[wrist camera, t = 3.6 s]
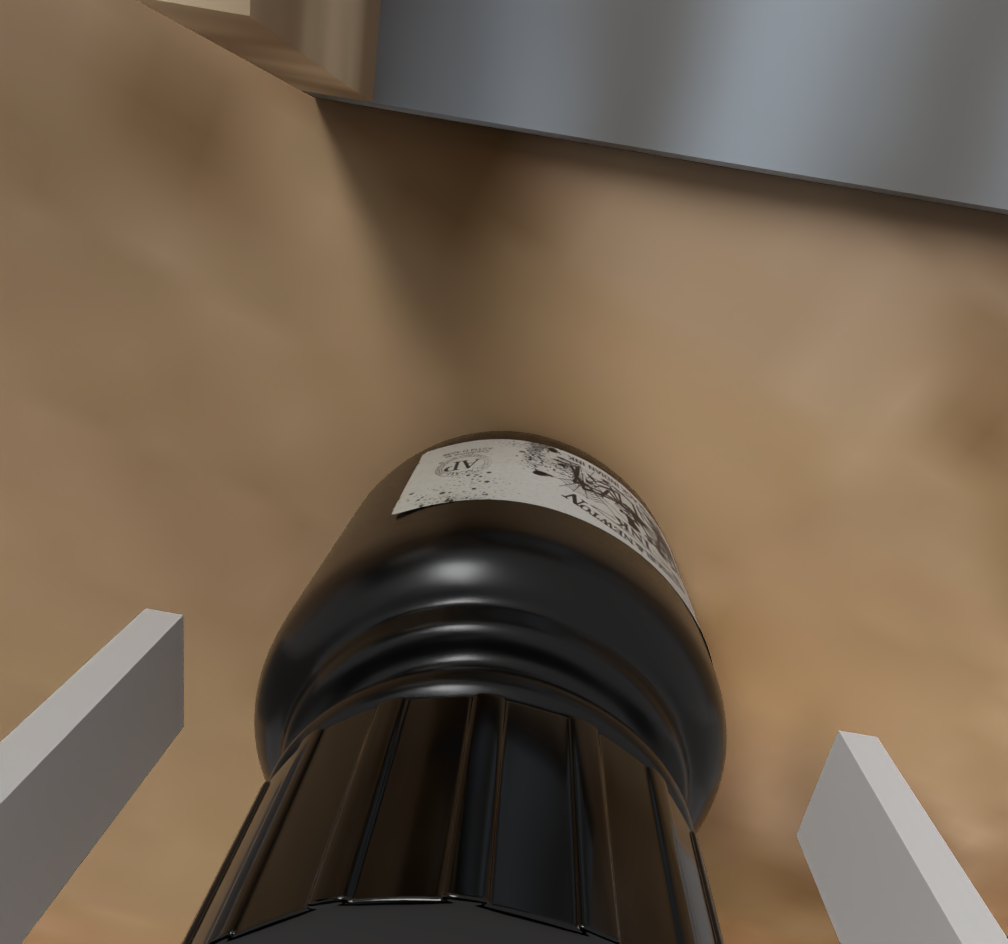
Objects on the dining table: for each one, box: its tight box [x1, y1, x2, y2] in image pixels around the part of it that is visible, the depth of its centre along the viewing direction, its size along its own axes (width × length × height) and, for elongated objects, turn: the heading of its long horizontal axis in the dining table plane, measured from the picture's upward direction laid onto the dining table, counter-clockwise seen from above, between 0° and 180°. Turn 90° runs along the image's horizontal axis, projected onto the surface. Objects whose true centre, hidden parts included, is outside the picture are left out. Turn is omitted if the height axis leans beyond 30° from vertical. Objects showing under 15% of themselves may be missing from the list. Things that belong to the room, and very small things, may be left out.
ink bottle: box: [181, 431, 727, 944], centre depth 13 cm, size 10×9×12 cm
